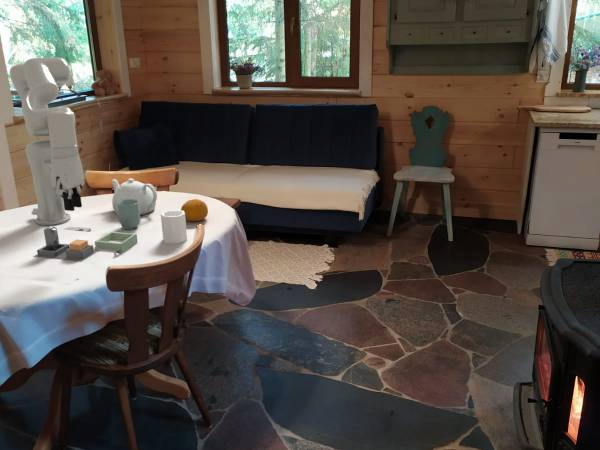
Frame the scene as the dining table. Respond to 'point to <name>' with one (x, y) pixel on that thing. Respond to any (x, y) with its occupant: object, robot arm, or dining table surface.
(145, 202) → the teapot
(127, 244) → the green square tray
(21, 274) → the dining table surface
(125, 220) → the cup
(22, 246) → the dining table surface
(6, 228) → the dining table surface
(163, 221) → the mug
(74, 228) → the handheld gaming console
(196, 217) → the fruit
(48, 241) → the cylinder
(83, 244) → the orange block
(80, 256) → the grey two-pocket panel
